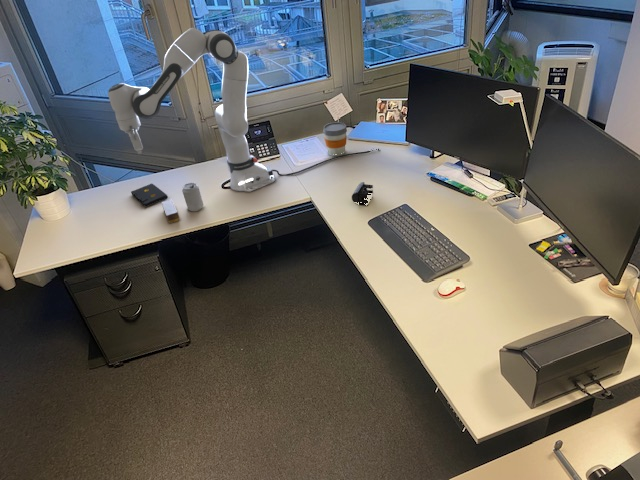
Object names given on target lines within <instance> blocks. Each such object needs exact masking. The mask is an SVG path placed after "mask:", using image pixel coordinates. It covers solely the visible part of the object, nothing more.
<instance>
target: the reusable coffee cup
mask: <svg viewBox="0 0 640 480" xmlns="http://www.w3.org/2000/svg"><path fill="white" fill-rule="evenodd" d="M347 129H348V128H347V125H346V124H345V123H344V122H340V121H339V122H338V121H335V122H329V123H326V124H325V125H324V126H323V131H322V132H323V134H324V137H323V138H324V142H325V145H326V147H327V153H328V155H329V156H331V157H337V156H341V155H345V154H346V145H347V137H348V135H347V132H348V130H347ZM343 152H344V153H343ZM341 153H342V154H341ZM333 154H334V155H333ZM335 154H337V155H335Z"/></svg>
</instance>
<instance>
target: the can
mask: <svg viewBox="0 0 640 480" xmlns="http://www.w3.org/2000/svg"><path fill="white" fill-rule="evenodd" d="M181 192H182V195H183V198H184V202H185V205H186V208H187V210H188V211H190V212H197V211H200V210H201V209H202V208H203V207H204V201H203V198H202V194H201V191H200V187H199V185H197V183H195V182H188V183H186V184H184V185H183V186H182V191H181Z"/></svg>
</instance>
